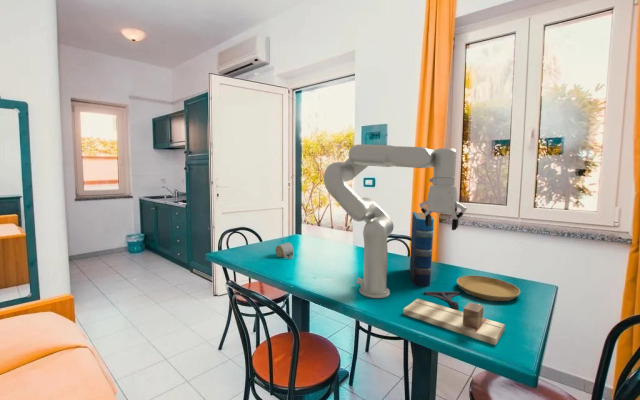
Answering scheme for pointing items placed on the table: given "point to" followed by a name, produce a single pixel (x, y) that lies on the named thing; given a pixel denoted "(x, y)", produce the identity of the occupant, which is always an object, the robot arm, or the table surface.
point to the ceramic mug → (285, 250)
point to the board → (454, 321)
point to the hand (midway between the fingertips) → (440, 227)
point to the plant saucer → (488, 288)
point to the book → (421, 250)
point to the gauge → (473, 315)
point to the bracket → (445, 297)
